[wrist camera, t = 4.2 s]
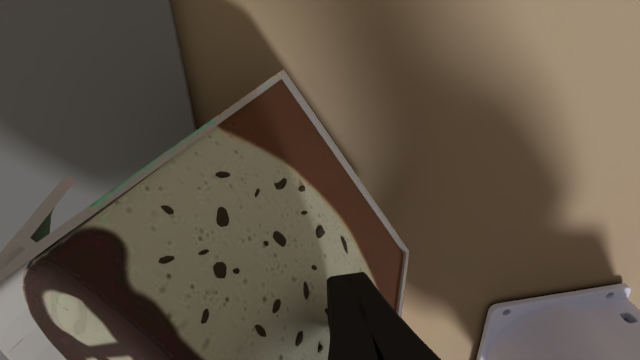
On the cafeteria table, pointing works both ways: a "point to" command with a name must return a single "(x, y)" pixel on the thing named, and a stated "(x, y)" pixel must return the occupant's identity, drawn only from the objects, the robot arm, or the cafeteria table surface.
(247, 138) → the food container
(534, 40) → the cafeteria table surface
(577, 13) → the cafeteria table surface
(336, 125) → the cafeteria table surface
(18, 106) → the mat
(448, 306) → the cafeteria table surface
